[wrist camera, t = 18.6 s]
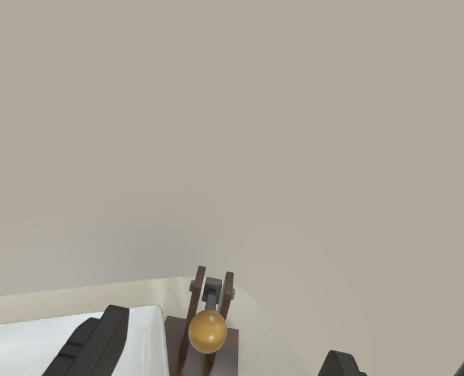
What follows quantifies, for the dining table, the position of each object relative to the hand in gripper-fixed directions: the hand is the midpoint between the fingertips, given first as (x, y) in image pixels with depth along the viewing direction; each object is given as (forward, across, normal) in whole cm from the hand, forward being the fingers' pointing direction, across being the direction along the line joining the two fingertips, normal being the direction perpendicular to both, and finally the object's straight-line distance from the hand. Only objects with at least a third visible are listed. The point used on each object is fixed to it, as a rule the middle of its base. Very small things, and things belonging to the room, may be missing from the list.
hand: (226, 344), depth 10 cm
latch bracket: (+21, 0, +28) cm, 35 cm away
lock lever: (+15, 0, +16) cm, 22 cm away
